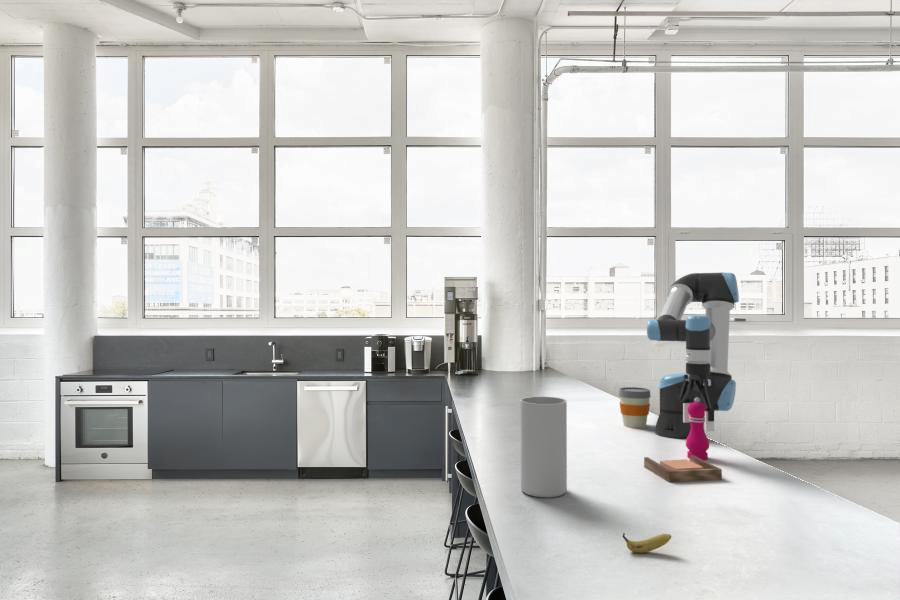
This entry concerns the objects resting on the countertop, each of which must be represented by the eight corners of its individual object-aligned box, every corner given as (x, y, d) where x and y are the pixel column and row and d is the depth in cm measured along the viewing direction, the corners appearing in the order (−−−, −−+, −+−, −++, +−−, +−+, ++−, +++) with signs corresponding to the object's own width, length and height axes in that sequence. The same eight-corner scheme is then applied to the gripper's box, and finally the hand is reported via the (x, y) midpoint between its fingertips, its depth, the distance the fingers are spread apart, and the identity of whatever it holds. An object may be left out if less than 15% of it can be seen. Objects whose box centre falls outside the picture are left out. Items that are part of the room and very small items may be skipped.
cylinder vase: (531, 500, 160) (531, 405, 160) (514, 486, 172) (513, 397, 172) (574, 496, 163) (574, 402, 163) (554, 482, 175) (554, 395, 175)
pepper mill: (683, 458, 200) (683, 398, 200) (687, 454, 206) (687, 395, 206) (707, 461, 197) (707, 399, 196) (710, 456, 203) (710, 396, 203)
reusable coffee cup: (612, 424, 255) (612, 388, 255) (635, 421, 260) (635, 386, 260) (633, 430, 244) (633, 392, 244) (657, 427, 249) (657, 390, 249)
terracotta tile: (686, 468, 190) (686, 459, 190) (703, 477, 181) (703, 467, 181) (659, 470, 189) (659, 460, 189) (675, 479, 180) (675, 468, 180)
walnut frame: (693, 464, 193) (693, 455, 193) (721, 479, 177) (721, 469, 177) (644, 466, 191) (644, 457, 191) (668, 482, 175) (668, 471, 175)
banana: (669, 550, 128) (669, 531, 128) (673, 555, 126) (673, 536, 126) (620, 549, 129) (620, 531, 129) (623, 554, 126) (623, 535, 126)
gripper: (668, 358, 213) (669, 419, 213) (708, 366, 188) (708, 435, 188) (689, 358, 214) (689, 418, 214) (730, 366, 189) (730, 434, 189)
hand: (698, 426), depth 201 cm, fingers open, 13 cm apart
